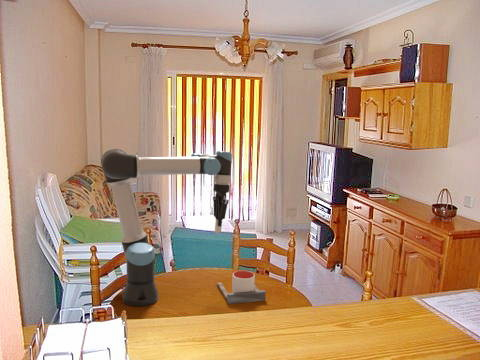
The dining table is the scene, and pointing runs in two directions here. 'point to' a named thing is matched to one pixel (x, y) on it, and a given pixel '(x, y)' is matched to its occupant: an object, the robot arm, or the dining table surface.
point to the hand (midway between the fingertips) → (217, 232)
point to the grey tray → (242, 295)
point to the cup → (243, 281)
